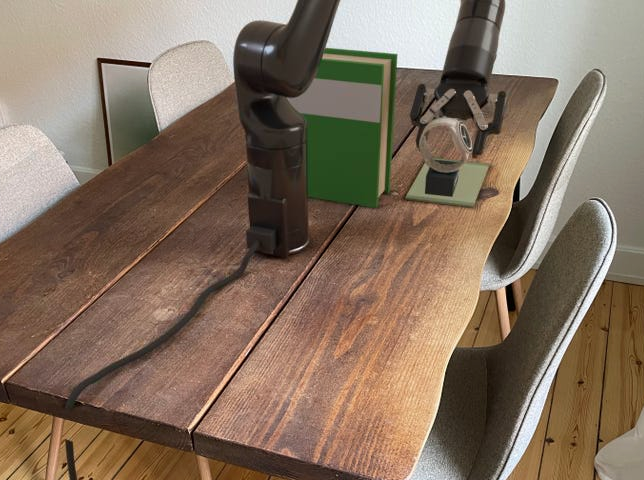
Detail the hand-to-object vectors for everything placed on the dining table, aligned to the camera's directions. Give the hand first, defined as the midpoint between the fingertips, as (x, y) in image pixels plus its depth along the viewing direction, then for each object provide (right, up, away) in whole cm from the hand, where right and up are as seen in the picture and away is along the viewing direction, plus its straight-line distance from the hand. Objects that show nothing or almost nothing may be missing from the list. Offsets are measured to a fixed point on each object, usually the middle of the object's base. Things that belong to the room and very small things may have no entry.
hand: (447, 153), depth 117 cm
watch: (0, -5, +3) cm, 6 cm away
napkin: (+5, +1, +24) cm, 24 cm away
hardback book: (-16, -2, +21) cm, 26 cm away
